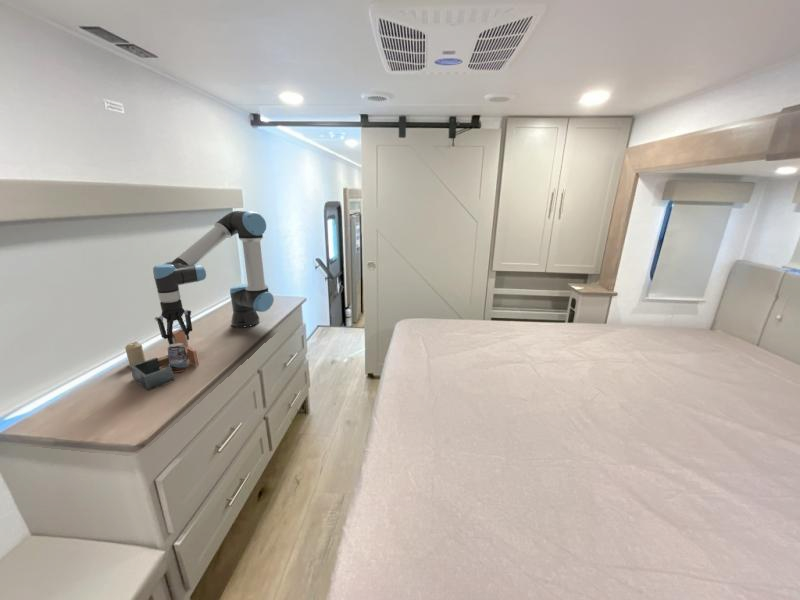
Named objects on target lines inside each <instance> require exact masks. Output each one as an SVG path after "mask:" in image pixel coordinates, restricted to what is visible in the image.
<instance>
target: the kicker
mask: <svg viewBox="0 0 800 600" xmlns="http://www.w3.org/2000/svg"><path fill="white" fill-rule="evenodd" d="M172 337H174V338H175V343H183V345H184V346H185V351H186V355H187V356H188V357H187V358H188V362H189V363H190V364H192V365H194V366H195V367H198V366H199V365H200V364H199V363H200V362H199V358H198V353H197V350H196V349H194V348H193V347H190V346H189V347H187V342H186V337H185V333H184V331H182V329H176V330H172Z"/></svg>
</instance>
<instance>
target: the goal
mask: <svg viewBox="0 0 800 600" xmlns="http://www.w3.org/2000/svg"><path fill="white" fill-rule="evenodd" d="M158 358H159V357H153V358H150V359H147V360H146V361H144V362H141V363H138V364H135V365H132V366H130V365H129V368H130V371H131V375H132V379H133V380H134V381H135V382H136V383H138V384H139V385H140V386H141V387H143V389H145V390H146V391H151V390H153V389H155V388H159V387H161V386H163V385H165V384H168V383H170V382H173V381H175V377H174V372H172V368H171V367H169V366H168V367H165V368H162V369H161V367H159V362H158Z"/></svg>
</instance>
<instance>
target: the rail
mask: <svg viewBox="0 0 800 600" xmlns="http://www.w3.org/2000/svg"><path fill="white" fill-rule="evenodd" d="M157 358H158V362H159V367H160V368H161V367H164V366H168V365H169V358H168V354H166V355H163V356H160V357H157ZM187 358H188V356H187V355H186V359H187Z"/></svg>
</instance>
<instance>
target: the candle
mask: <svg viewBox="0 0 800 600" xmlns="http://www.w3.org/2000/svg"><path fill="white" fill-rule="evenodd" d="M125 352H126V356H127V359H128V364H129V367H130V366H132V365H135V364H138V363H141V362H144V361H147V360H146V358H145V357H146V356H145V351H144V349H143V344H142V343H140V342H138V341H134V342H129V343H128V344H127V345H126V346H125Z"/></svg>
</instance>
